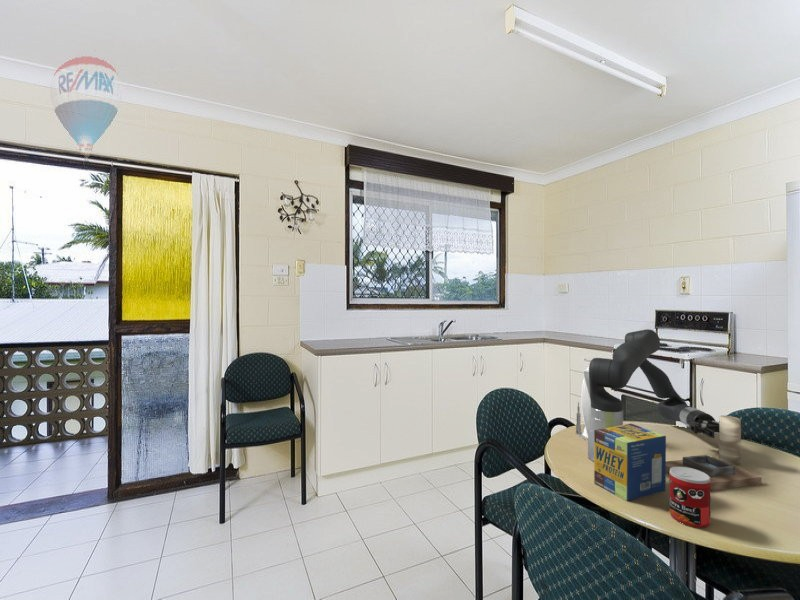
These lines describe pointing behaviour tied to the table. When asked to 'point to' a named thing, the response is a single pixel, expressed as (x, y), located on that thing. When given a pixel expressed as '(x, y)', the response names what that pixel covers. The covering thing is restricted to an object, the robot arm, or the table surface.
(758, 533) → the table surface
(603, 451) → the protein box
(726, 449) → the birch column
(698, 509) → the canned food
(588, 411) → the skyscraper
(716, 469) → the base board
